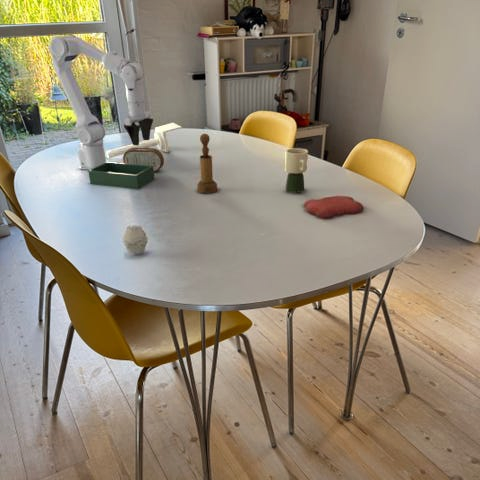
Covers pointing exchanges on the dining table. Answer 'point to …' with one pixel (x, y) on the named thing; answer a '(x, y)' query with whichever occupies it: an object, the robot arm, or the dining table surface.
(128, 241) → the off-white lumpy ball
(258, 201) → the dining table surface
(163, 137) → the paper towel holder
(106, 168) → the tote
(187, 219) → the dining table surface
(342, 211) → the patty
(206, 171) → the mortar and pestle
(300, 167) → the character mug
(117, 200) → the dining table surface
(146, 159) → the tin
